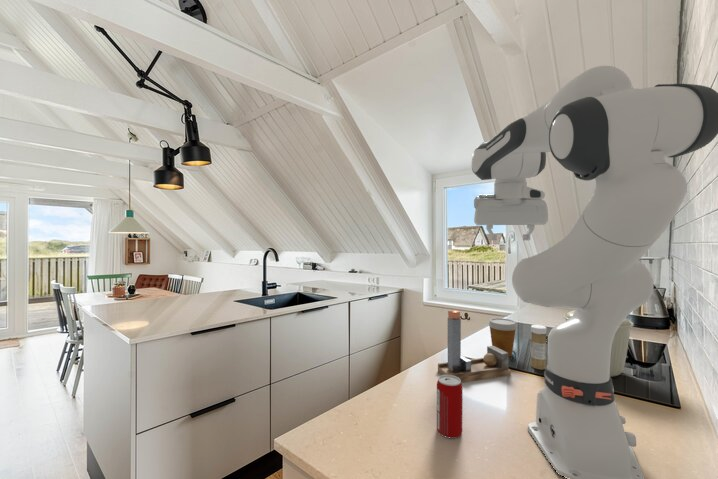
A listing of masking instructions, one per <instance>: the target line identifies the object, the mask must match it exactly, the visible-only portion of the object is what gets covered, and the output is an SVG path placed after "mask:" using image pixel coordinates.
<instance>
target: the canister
mask: <svg viewBox="0 0 718 479" xmlns="http://www.w3.org/2000/svg"><path fill="white" fill-rule="evenodd" d="M575 310H576V309H575ZM575 310H571V311H568V312H567V313H564V314H563V315H562V316H563V319H565V321H567V320H568V319H569V318H571V316H572V315H573V314H574V312H575ZM634 325H635V323H634V322H632V321H631V320H630V319H628V318H627V317H626V318H625V319H624V320H623V322H622V323H621V324H620V326H619V328H618V329H617V331H616V333H615V335H614V338H613V342H612V347H611V357H610V377H611V378H612V377H617V376H619V375H621V374H622V373H623V371H624V369H625V365H626V360H627V355H628V348H629V343H630V342H629V341H630V337H631V336H630V335H631V328H633V327H634Z"/></svg>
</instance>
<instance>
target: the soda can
mask: <svg viewBox="0 0 718 479" xmlns="http://www.w3.org/2000/svg"><path fill="white" fill-rule="evenodd" d="M436 432H437V433H438V434H439V433H440V434H441V435H443V436H446V437H450V438H455V439H457V438H456V437H458V438H459V437H461V436H462V435H463V385H462V382H461V380H460V379H459V378H458V377H456V376H453V375H442V374H441V375H439V376H438V377H437V382H436ZM440 434H439V435H440ZM441 435H440V436H441ZM443 436H442V437H443Z"/></svg>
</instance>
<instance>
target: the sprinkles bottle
mask: <svg viewBox="0 0 718 479" xmlns="http://www.w3.org/2000/svg"><path fill="white" fill-rule="evenodd" d="M530 333H531V338H530V339H531V342H530V343H531V344H530V345H531V346H530V358H531V359H530V366H531V367H532V368H533V369H536V370H545V367H546V365H547V333H548V328H547V327H546V326H545V325H541V324H532V325H531V326H530Z"/></svg>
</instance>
